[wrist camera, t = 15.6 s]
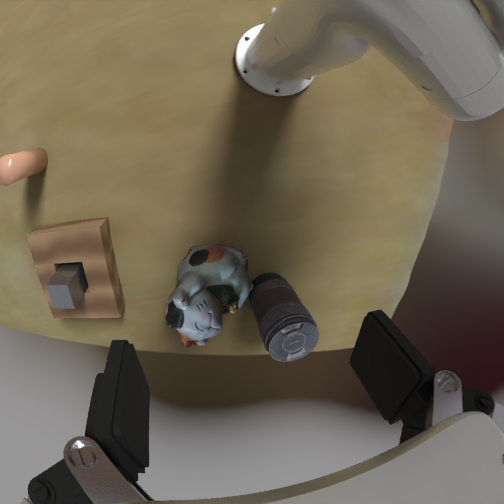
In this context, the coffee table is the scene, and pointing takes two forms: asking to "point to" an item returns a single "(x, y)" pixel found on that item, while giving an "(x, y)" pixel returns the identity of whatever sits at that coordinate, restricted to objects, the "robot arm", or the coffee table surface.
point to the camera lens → (282, 318)
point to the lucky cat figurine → (207, 291)
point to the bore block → (92, 257)
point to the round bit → (22, 165)
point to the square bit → (67, 285)
